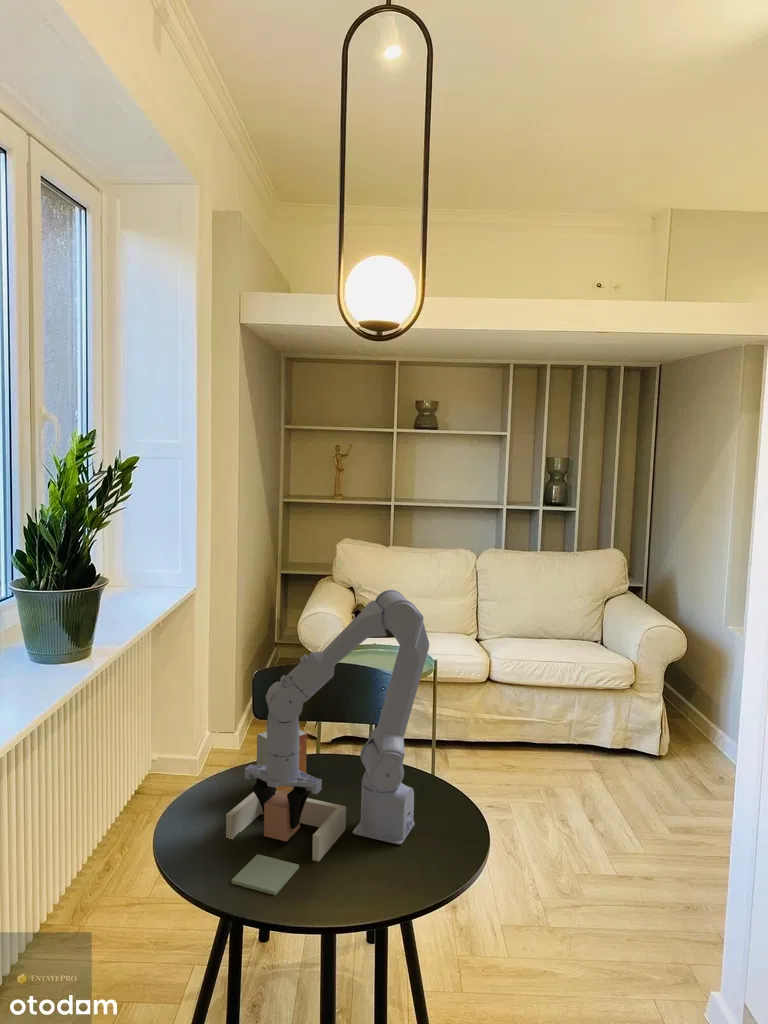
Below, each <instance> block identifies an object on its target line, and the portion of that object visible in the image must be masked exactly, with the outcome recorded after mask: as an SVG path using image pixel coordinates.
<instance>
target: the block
mask: <svg viewBox="0 0 768 1024" xmlns="http://www.w3.org/2000/svg"><path fill="white" fill-rule="evenodd" d="M287 794H288V793H284V792H279V791H278V792H277V793H276V794H275V795H274V796H272V797H271V798H270V799H269V800H268V801H267V802H266V803H265V804H264V814H263V836H264V837H267V838H271V839H275V840H280V841H283V842H288V841H289V840H290V839H291V837H292V836H294V834H296V832H297V831H298V830H299V829H300V827H301V823H300V822H299V825H298V826H297V827H296V828H295V829H291V827H290V807H289V802H288V798H287Z"/></svg>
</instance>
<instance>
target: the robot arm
mask: <svg viewBox="0 0 768 1024" xmlns="http://www.w3.org/2000/svg"><path fill="white" fill-rule="evenodd" d="M386 630H387V631H389V632H390V633H391V634H392V635H393V637H394V638H395V640H396V642H397V643H398V645H399V648H398V653H397V655H396V659H395V661H394V662H395V663H394V666H393V668H392V671H391V672H392V673H391V675H390V681H389V684H388V687H387V689H386V694H385V699H384V701H383V703H382V704H383V705H382V708H381V712H380V715H379V720H378V723H377V726H375V727H374V729H373V730H372V731H371V733H370V735H369V736H370V737H369V738H368V740H367V742H366V743H364V745H363V746H362V748H361V751H360V756H359V757H360V761H361V763H362V765H363V766H364V767H365V772H364V773H363V776H362V778H361V799H360V800H361V803H360V807H361V808H360V822H359V823H358V824H357V825H356V826H355V827H354V829H353V830H352V834H353V835H356V836H360V837H364V838H369V839H373V840H376V841H377V840H378V841H382V842H386V843H390V844H395V845H402V844H403V843H404V841H405V840H406V838H407V837H408V835H409V834H410V832H411V830H412V829H413V827H414V826H415V820H414V816H415V813H414V811H415V792H414V788H413V787H411V786H409V785H406V784H404V783H403V780H404V777H405V769H404V759H405V755H406V754H405V753H406V752H405V751H406V750H405V740H404V739H405V734H406V731H407V728H408V727H407V726H408V723H409V721H410V717H411V713H412V709H413V706H414V703H415V702H414V701H415V699H416V696H417V690H418V687H419V685H420V681H421V677H422V674H423V670H424V666H425V663H426V659H427V655H428V652H429V649H430V641H429V637H428V634H427V630H426V627H425V622H424V615H423V614H422V613H421V612H420V610H419V609H418V608H417V606H416V605H415V604H414V603H413V602H412V601H410V600H408V598H406V597H405V596H404V595H403V594H402V593H401V592H399V591H398V590H396V589H395V590H394V589H386V590H384V591H382V592H381V593H379V594H378V595H377V597H375V599H372V600H371V601H370V602H368V603H366V605H365V606H364V607H363V609H362V610H361V611H360V612H359V614H358V615H357V616H355V617H354V619H352V621H351V622H350V623H349V624H348V625H347V626H346V627H344V629H343V630H342V631H341V632H340V633H339V634H338V635H337V636H336V637H335V638H334V639H333V640H332V641H331V642H330V643H329V644H328V645H327V646H326V647H325V648H324V650H321V651H312V652H310V653H309V654H303V655H302V656H301V657H300V659H299V661H300V662H299V664H297V665H296V666H295V667H294V668H293V669H292V670H291V671H290V672H288V674H287V675H285V674H283V675H282V676H281V677H280V681H275V682H274V683H273V684H272V685H270V687H269V688H268V690H267V693H266V694H265V701H266V704H267V708H268V715H267V725H266V731H267V766H259V765H257V764H249V765H248V766H247V767H245V768H244V779H245V780H251V779H252V780H253V779H254V780H255V781H256V782H255V784H254V785H253V786H252V793H253V792H254V793H255V795H256V796H257V798H258V800H259V802H260V804H261V807H262V810H263V814H262V815H264V804H265V803H266V802H267V801H268V800H269V799H270V798H271V797H272V796H274V795H275V794H276V788H277V787H278V786H290V787H294V788H293V790H292V791H291V792H289V793H288V794H287V798H288V802H289V807H290V827H291V829H295V828H296V827H297V826H298V825H299V822H300V817H301V813H302V810H303V807H304V804H305V802H306V800H307V798H309V796H310V794H313V795H317V794H318V793H320V792H321V791H322V788H323V787H322V785H323V783H322V782H323V780H322V778H317V777H315V776H312V775H310V774H308V773H307V772H306V773H304V772H302V771H300V770H299V730H300V728H301V727H300V726H301V725H300V723H299V716H301V714H302V711H303V706H304V703H306V702H307V701H308V700H310V699H311V698H312V697H313V696H314V695H315V694H316V693H317V692H318V691H319V690H320V689H322V687H323V686H325V685H326V684H327V683H328V682H329V681H330V680H331V679H332V678H333V677H334V675H335V666H336V665H337V664H338V663H339V662H341V661H342V660H343V659H345V657H347V656H348V655H349V654H350V653H352V652H353V651H354V650H356V649H357V647H358V646H360V645H362V643H364V641H365V640H367V639H368V638H371V637H372V638H374V637H388V636H387V635H388V634H387V633H386Z"/></svg>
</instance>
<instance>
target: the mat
mask: <svg viewBox="0 0 768 1024" xmlns="http://www.w3.org/2000/svg"><path fill="white" fill-rule="evenodd" d="M299 869H300V864H298V863H294V862H289V861H286V860H281V859H278V858H275V857H270V856H266V855H262V854H258V853H257V854H256V855H255V856H254V857H253V858H252V859H251V860H250V861H248V863H247V864H246V865H244V867H243V868H242V869H241V870H240V871H239V872H238V873H237V874H236V875H235V876H234V877H233V878H232V879H231V884H233V885H237V886H241V887H243V888H247V889H251V890H254V891H258V892H262V893H266V894H268V895H273V896H276V895H277V894H279V892H280V891H281V890H282V888H283V887H284V886H285V885H286V884H287V883H288V881H289V880H290V879H291V878H292V877H293V875H295V873H296V872H297V871H298V870H299Z"/></svg>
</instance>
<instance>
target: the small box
mask: <svg viewBox="0 0 768 1024" xmlns="http://www.w3.org/2000/svg"><path fill="white" fill-rule="evenodd" d="M307 743H308V732H305V731H303V730H301V729H299V770H300V771H302V772H304V773H306V774H307V753H308V752H307V749H308V747H307V746H308V745H307ZM256 765H259V766H267V730H266V731H263V732H261V733H257V734H256ZM293 788H294V787H290V786H278V787H277V788H276V791H279V792H284V793H289V792H291V791H292V790H293Z"/></svg>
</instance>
